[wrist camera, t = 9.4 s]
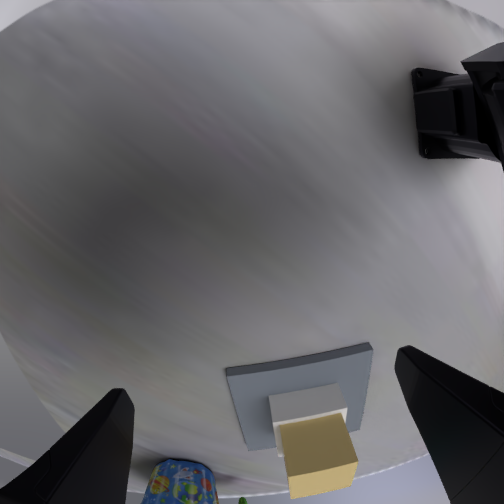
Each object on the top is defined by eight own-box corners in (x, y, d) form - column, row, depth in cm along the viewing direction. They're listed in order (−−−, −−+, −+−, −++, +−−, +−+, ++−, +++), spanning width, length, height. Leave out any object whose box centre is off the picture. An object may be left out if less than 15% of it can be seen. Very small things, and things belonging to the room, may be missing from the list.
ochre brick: (341, 412, 21) (358, 461, 17) (337, 442, 23) (350, 486, 18) (279, 424, 21) (288, 476, 16) (283, 453, 23) (290, 498, 18)
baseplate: (369, 342, 24) (373, 349, 23) (356, 423, 28) (359, 429, 27) (226, 368, 24) (226, 376, 23) (247, 443, 28) (248, 450, 27)
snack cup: (121, 470, 30) (109, 530, 21) (125, 435, 27) (107, 511, 18) (230, 492, 33) (232, 551, 24) (257, 463, 30) (264, 535, 20)
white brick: (337, 382, 24) (347, 407, 21) (334, 421, 26) (342, 444, 23) (268, 395, 24) (272, 422, 21) (274, 432, 26) (278, 457, 23)
